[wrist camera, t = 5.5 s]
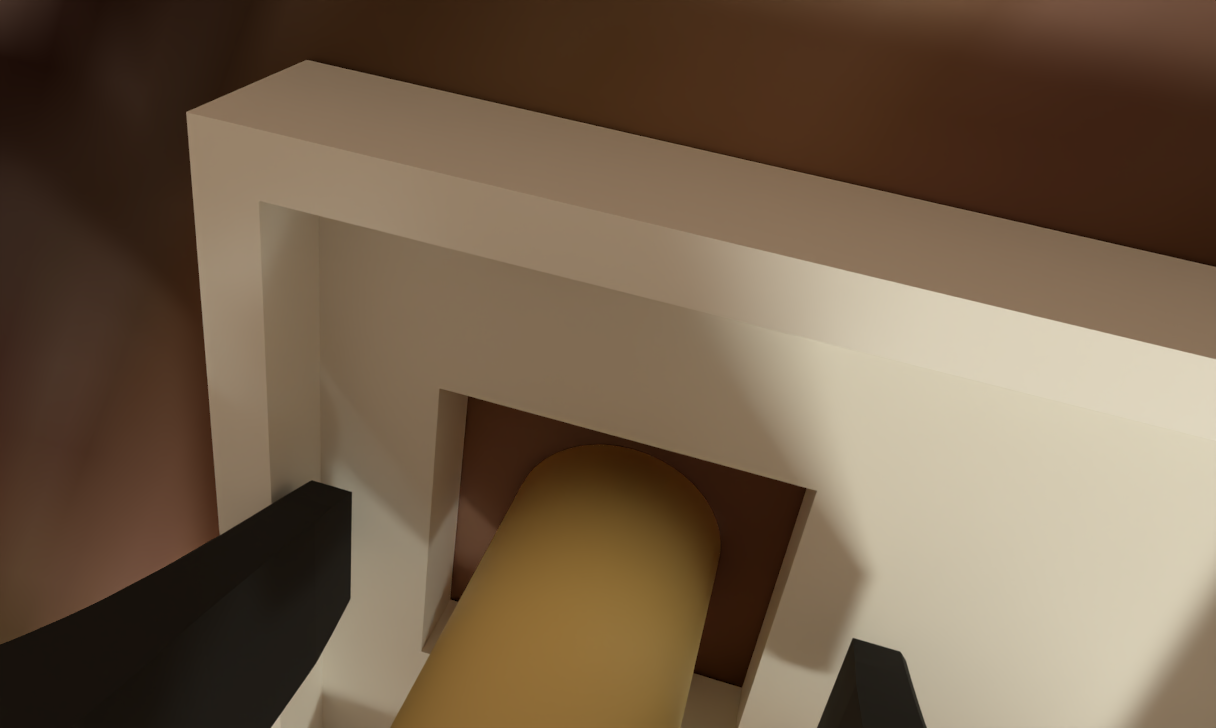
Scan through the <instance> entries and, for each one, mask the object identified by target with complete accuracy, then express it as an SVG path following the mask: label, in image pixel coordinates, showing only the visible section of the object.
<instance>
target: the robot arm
mask: <svg viewBox="0 0 1216 728" xmlns="http://www.w3.org/2000/svg"><path fill="white" fill-rule="evenodd" d="M351 532H352V492H351V491H347V490H344V489H340V488H337V487H334V486H330V485H327V484H323V483H320V482H316V481H313V480H311V481H309V482H308V483H306V484H304V485H302V486H301V487H299V488H297V489H295V490H294V491H292V492H290V493H289V494H287V495H285V496H284V497H282V498H280V499H279V500H277V501H275V502H274V503H272V504H270V505H269V506H267V507H266V508H264V509H262V510H261V511H259V512H257V513H256V514H254V515H252V516H251V517H249V518H248V519H246V520H244V521H243V522H241V523H239V524H238V525H236V526H234V527H233V528H231V529H229V530H228V531H226V532H224V533H223V534H221V535H219V536H218V537H216V538H214V539H212V540H211V541H209V542H207V543H206V544H204V545H202V546H200V547H199V548H197V549H195V550H194V551H192V552H190V553H188V554H187V555H185V556H183V557H181V558H180V559H178V560H176V561H175V562H173V563H171V564H169V565H167V566H166V567H164V568H162V569H160V570H158V571H156V572H154V573H153V574H151V575H149V576H147V577H145V578H143V579H141V580H139V581H137V582H135V583H134V584H132V585H130V586H128V587H126V588H124V589H122V590H120V591H118V592H116V593H115V594H113V595H111V596H109V597H107V598H105V599H103V600H101V601H99V602H97V603H95V604H93V605H91V606H89V607H86V608H84V609H82V610H80V611H78V612H76V613H74V614H71V615H69V616H67V617H65V618H63V619H60V620H58V621H56V622H53V623H51V624H49V625H46V626H44V627H42V628H40V629H37V630H35V631H33V632H30V633H28V634H26V635H23V636H21V637H18V638H16V639H13V640H11V641H9V642H6V643H3V644H1V645H0V728H271V727H272V726H273V724H274V723H275V721H276V720H277V719H278V717H279V716H280V714H281V713H282V712H283V710H284V709H285V707H286V706H287V704H288V703H289V702H290V700H291V699H292V697H293V696H294V694H295V693H296V692H297V690H298V689H299V687H300V686H301V685H302V683H303V682H304V680H305V679H306V677H307V676H308V674H309V673H310V672H311V670H312V669H313V667H314V666H315V664H316V663H317V661H318V659H319V657H320V655H321V654H322V652H323V650H324V648H325V646H326V645H327V643H328V641H329V639H330V637H331V636H332V634H333V632H334V630H335V628H336V626H337V624H338V622H339V620H340V618H341V616H342V615H343V613H344V611H345V609H346V607H347V605H348V603H349V601H350V599H351ZM817 728H927V727H926V724H925V721H924V718H923V715H922V712H921V709H920V706H919V703H918V699H917V696H916V693H915V690H914V687H913V683H912V680H911V676H910V673H909V669H908V666H907V662H906V660H905V658H904V656H903V655H902V653H901V652H900V651H897V650H893V649H890V648H887V647H883V646H880V645H876V644H873V643H869V642H866V641H862V640H859V639H856V638H852V641H851V643H850V646H849V648H848V651H847V653H846V656H845V658H844V661H843V663H842V666H841V668H840V671H839V673H838V676H837V679H836V681H835V684H834V686H833V689H832V691H831V694H830V696H829V699H828V701H827V704H826V706H825V709H824V711H823V714H822V716H821V719H820V721H819V724H818V726H817Z"/></svg>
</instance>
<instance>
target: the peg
mask: <svg viewBox="0 0 1216 728" xmlns="http://www.w3.org/2000/svg"><path fill="white" fill-rule="evenodd" d="M720 550H721V540H720V532H719V528H718V524H717V521H716V518H715V516H714V514H713V511H712V509H711V507H710V506H709V504H708V502H707V501H706V499H705V498H704V496H703V495H702V494H701V493H700V491H699V490H698V489H697V488H696V487H695V486H694V485H693V484H692V483H691V482H690V481H689V480H688V479H687V478H686V477H685V476H684V475H682V474H681V473H680V472H678V471H677V470H676V469H674V468H673V467H671V466H670V465H668V464H666V463H665V462H663V461H661V460H659V459H657V458H655V457H653V456H651V455H648V454H646V453H643V452H640V451H637V450H634V449H630V448H625V447H621V446H613V445H584V446H577V447H573V448H569V449H566V450H563V451H560V452H558V453H555V454H553V455H552V456H550V457H548V458H546V459H545V460H543V461H542V462H541V463H540V464H538V465H537V466H536V467H535V468H534V469H533V470H532V471H531V472H530V473H529V474H528V476H527V477H526V479H525V481H524V482H523V484H522V486H521V487H520V489H519V491H518V493H517V495H516V497H515V498H514V500H513V502H512V504H511V506H510V508H509V510H508V511H507V513H506V515H505V517H504V519H503V521H502V522H501V524H500V526H499V528H498V530H497V532H496V533H495V535H494V537H493V539H492V541H491V543H490V544H489V546H488V548H487V550H486V552H485V554H484V556H483V557H482V559H481V561H480V563H479V565H478V567H477V568H476V570H475V572H474V574H473V576H472V578H471V579H470V581H469V583H468V585H467V587H466V589H465V591H464V592H463V594H462V596H461V598H460V600H459V602H458V603H457V605H456V607H455V609H454V611H453V613H452V614H451V616H450V618H449V620H448V622H447V624H446V625H445V627H444V629H443V631H442V633H441V635H440V637H439V638H438V640H437V642H436V644H435V646H434V648H433V649H432V651H431V653H430V655H429V657H428V659H427V660H426V662H425V664H424V666H423V668H422V670H421V672H420V673H419V675H418V677H417V679H416V681H415V683H414V684H413V686H412V688H411V690H410V692H409V694H408V695H407V697H406V699H405V701H404V703H403V705H402V706H401V708H400V710H399V712H398V714H397V716H396V718H395V719H394V721H393V723H392V725H391V727H390V728H681V724H682V720H683V715H684V711H685V706H686V702H687V698H688V693H689V689H690V685H691V680H692V676H693V671H694V667H695V663H696V658H697V654H698V650H699V645H700V641H701V637H702V632H703V628H704V623H705V619H706V615H707V610H708V606H709V602H710V597H711V593H712V588H713V584H714V580H715V575H716V571H717V567H718V562H719V557H720Z"/></svg>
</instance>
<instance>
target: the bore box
mask: <svg viewBox="0 0 1216 728" xmlns="http://www.w3.org/2000/svg"><path fill="white" fill-rule="evenodd" d="M186 116H187V129H188V141H189V154H190V167H191V179H192V192H193V205H194V217H195V230H196V242H197V255H198V268H199V280H200V293H201V306H202V318H203V331H204V343H205V356H206V369H207V381H208V394H209V407H210V419H211V432H212V444H213V457H214V470H215V482H216V495H217V508H218V520H219V533H220V535H221V534H223V533H224V532H226V531H228V530H229V529H231V528H233V527H234V526H236V525H238V524H239V523H241V522H243V521H244V520H246V519H248V518H249V517H251V516H252V515H254V514H256V513H257V512H259V511H261V510H262V509H264V508H266V507H267V506H269V505H270V504H272V503H274V502H275V501H277V500H279V499H280V498H282V497H284V496H285V495H287V494H289V493H290V492H292V491H294V490H295V489H297V488H299V487H301V486H302V485H304V484H306V483H308V482H309V481H311V480H313V481H316V482H320V483H323V484H327V485H330V486H334V487H337V488H340V489H344V490H347V491H351V492H352V532H351V599H350V601H349V603H348V605H347V607H346V609H345V611H344V613H343V615H342V616H341V618H340V620H339V622H338V624H337V626H336V628H335V630H334V632H333V634H332V636H331V637H330V639H329V641H328V643H327V645H326V646H325V648H324V650H323V652H322V654H321V655H320V657H319V659H318V661H317V663H316V664H315V666H314V667H313V669H312V670H311V672H310V673H309V674H308V676H307V677H306V679H305V680H304V682H303V683H302V685H301V686H300V687H299V689H298V690H297V692H296V693H295V694H294V696H293V697H292V699H291V700H290V702H289V703H288V704H287V706H286V707H285V709H284V710H283V712H282V713H281V714H280V716H279V717H278V719H277V720H276V721H275V723H274V724H273V726H272V727H271V728H390V727H391V725H392V723H393V721H394V719H395V718H396V716H397V714H398V712H399V710H400V708H401V706H402V705H403V703H404V701H405V699H406V697H407V695H408V694H409V692H410V690H411V688H412V686H413V684H414V683H415V681H416V679H417V677H418V675H419V673H420V672H421V670H422V668H423V666H424V664H425V662H426V660H427V659H428V657H429V655H430V653H431V651H432V649H433V648H434V646H435V644H436V642H437V640H438V638H439V637H440V635H441V633H442V631H443V629H444V627H445V625H446V624H447V622H448V620H449V618H450V616H451V614H452V613H453V611H454V609H455V607H456V605H457V603H458V602H457V601H453V600H450V597H451V585H452V574H453V562H454V551H455V540H456V528H457V517H458V505H459V494H460V483H461V471H462V460H463V448H464V437H465V426H466V414H467V403H468V396H470V397H474V398H477V399H481V400H485V401H488V402H492V403H496V404H499V405H503V406H507V407H510V408H514V409H518V410H521V411H525V412H529V413H532V414H536V415H540V416H543V417H547V418H551V419H554V420H558V421H562V422H565V423H569V424H573V425H577V426H580V427H584V428H588V429H591V430H595V431H599V432H602V433H606V434H610V435H613V436H617V437H621V438H624V439H628V440H632V441H635V442H639V443H643V444H646V445H650V446H654V447H657V448H661V449H665V450H668V451H672V452H676V453H679V454H683V455H687V456H691V457H694V458H698V459H702V460H705V461H709V462H713V463H716V464H720V465H724V466H727V467H731V468H735V469H738V470H742V471H746V472H749V473H753V474H757V475H760V476H764V477H768V478H771V479H775V480H779V481H782V482H786V483H790V484H793V485H797V486H801V487H804V488H807V489H806V492H805V495H804V498H803V501H802V504H801V507H800V510H799V513H798V517H797V520H796V523H795V526H794V529H793V532H792V535H791V538H790V541H789V544H788V547H787V550H786V554H785V557H784V560H783V563H782V566H781V569H780V572H779V575H778V578H777V581H776V584H775V587H774V590H773V594H772V597H771V600H770V603H769V606H768V609H767V612H766V615H765V618H764V621H763V624H762V627H761V630H760V634H759V637H758V640H757V643H756V646H755V649H754V652H753V655H752V658H751V661H750V664H749V667H748V670H747V674H746V677H745V680H744V683H743V686H742V688H741V687H737V686H734V685H731V684H728V683H724V682H721V681H718V680H714V679H711V678H708V677H704V676H701V675H698V674H695V673H693V676H692V680H691V685H690V689H689V693H688V698H687V702H686V706H685V711H684V715H683V720H682V724H681V728H817V726H818V724H819V721H820V719H821V716H822V714H823V711H824V709H825V706H826V704H827V701H828V699H829V696H830V694H831V691H832V689H833V686H834V684H835V681H836V679H837V676H838V673H839V671H840V668H841V666H842V663H843V661H844V658H845V656H846V653H847V651H848V648H849V646H850V643H851V641H852V638H856V639H859V640H862V641H866V642H869V643H873V644H876V645H880V646H883V647H887V648H890V649H893V650H897V651H900V652H901V653H902V655H903V656H904V658H905V660H906V662H907V666H908V669H909V673H910V676H911V680H912V683H913V687H914V690H915V693H916V696H917V699H918V703H919V706H920V709H921V712H922V715H923V718H924V721H925V724H926V727H927V728H1216V267H1214V266H1209V265H1205V264H1200V263H1196V262H1192V261H1187V260H1183V259H1178V258H1174V257H1170V256H1165V255H1161V254H1157V253H1152V252H1148V251H1143V250H1139V249H1135V248H1130V247H1126V246H1121V245H1117V244H1113V243H1108V242H1104V241H1100V240H1095V239H1091V238H1086V237H1082V236H1078V235H1073V234H1069V233H1064V232H1060V231H1056V230H1051V229H1047V228H1042V227H1038V226H1034V225H1029V224H1025V223H1021V222H1016V221H1012V220H1007V219H1003V218H999V217H994V216H990V215H985V214H981V213H977V212H972V211H968V210H964V209H959V208H955V207H950V206H946V205H942V204H937V203H933V202H928V201H924V200H920V199H915V198H911V197H906V196H902V195H898V194H893V193H889V192H885V191H880V190H876V189H871V188H867V187H863V186H858V185H854V184H849V183H845V182H841V181H836V180H832V179H827V178H823V177H819V176H814V175H810V174H806V173H801V172H797V171H792V170H788V169H784V168H779V167H775V166H770V165H766V164H762V163H757V162H753V161H749V160H744V159H740V158H735V157H731V156H727V155H722V154H718V153H713V152H709V151H705V150H700V149H696V148H691V147H687V146H683V145H678V144H674V143H670V142H665V141H661V140H656V139H652V138H648V137H643V136H639V135H634V134H630V133H626V132H621V131H617V130H613V129H608V128H604V127H599V126H595V125H591V124H586V123H582V122H577V121H573V120H569V119H564V118H560V117H555V116H551V115H547V114H542V113H538V112H534V111H529V110H525V109H520V108H516V107H512V106H507V105H503V104H498V103H494V102H490V101H485V100H481V99H476V98H472V97H468V96H463V95H459V94H455V93H450V92H446V91H441V90H437V89H433V88H428V87H424V86H419V85H415V84H411V83H406V82H402V81H398V80H393V79H389V78H384V77H380V76H376V75H371V74H367V73H362V72H358V71H354V70H349V69H345V68H340V67H336V66H332V65H327V64H323V63H319V62H314V61H310V60H305V61H303V62H300V63H298V64H296V65H293V66H291V67H289V68H287V69H284V70H282V71H280V72H277V73H275V74H273V75H270V76H268V77H266V78H264V79H261V80H259V81H257V82H254V83H252V84H250V85H247V86H245V87H243V88H241V89H238V90H236V91H234V92H231V93H229V94H227V95H224V96H222V97H220V98H217V99H215V100H213V101H211V102H208V103H206V104H204V105H201V106H199V107H197V108H194V109H192V110H190V111H188V112H186Z"/></svg>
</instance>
